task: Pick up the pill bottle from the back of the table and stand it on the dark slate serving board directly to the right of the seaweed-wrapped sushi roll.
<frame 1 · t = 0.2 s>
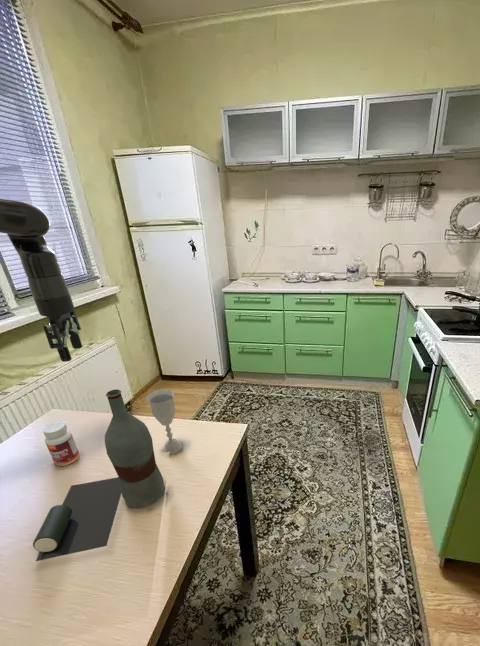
hand: (72, 354, 87), 29 cm above the table, tool pointing down, fingers open, 8 cm apart
slate board: (89, 517, 75), on the table
sushi roll: (57, 534, 69), point 1 cm above the table, touching slate board
chalice: (172, 448, 95), on the table
vodka: (146, 498, 79), on the table
pill bottle: (68, 459, 92), on the table
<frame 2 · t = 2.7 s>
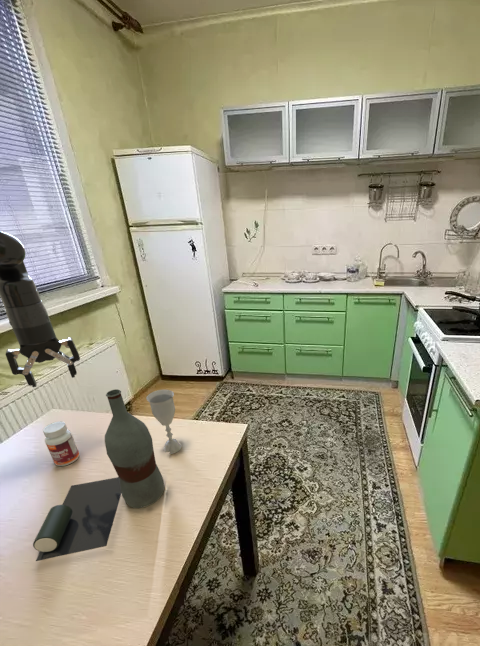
hand: (54, 381, 85), 24 cm above the table, tool pointing down, fingers open, 8 cm apart
nothing on the table moved.
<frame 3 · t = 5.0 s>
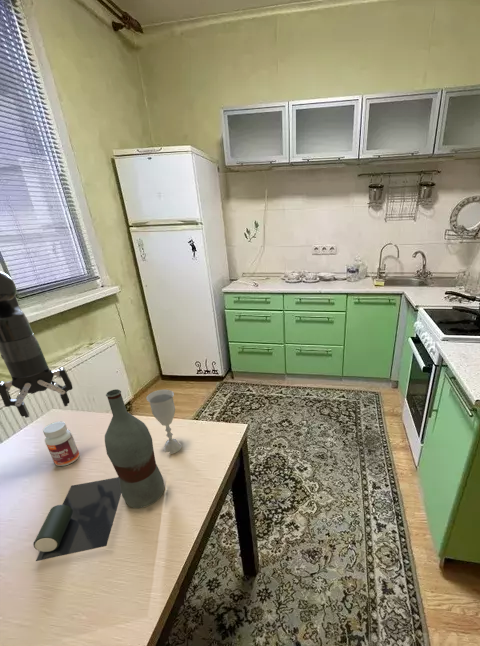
hand: (47, 410, 85), 17 cm above the table, tool pointing down, fingers open, 8 cm apart
nothing on the table moved.
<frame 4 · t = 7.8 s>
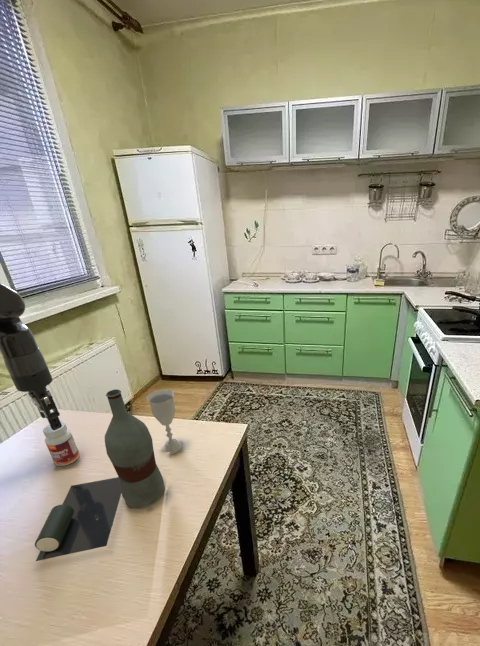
hand: (52, 422, 87), 13 cm above the table, tool pointing down, fingers open, 8 cm apart
sushi roll: (57, 534, 69), point 2 cm above the table, tilted 9°, touching slate board
everything else where it was.
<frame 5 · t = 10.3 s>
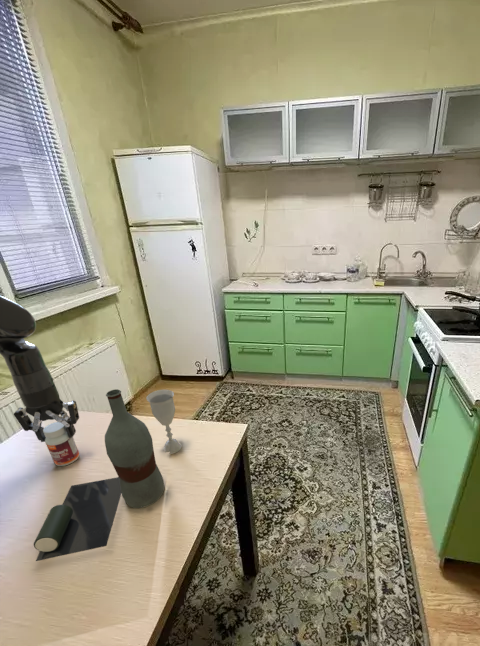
hand: (58, 437, 89), 8 cm above the table, tool pointing down, fingers closed on pill bottle, 6 cm apart
sushi roll: (57, 534, 69), point 2 cm above the table, touching slate board
pill bottle: (68, 459, 92), on the table, touching gripper
everything else where it was.
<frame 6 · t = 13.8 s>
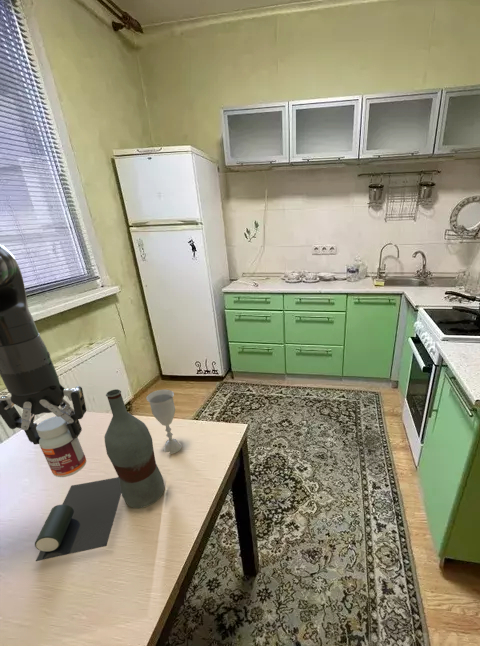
hand: (58, 438, 64), 23 cm above the table, tool pointing down, fingers closed on pill bottle, 6 cm apart
pill bottle: (71, 468, 68), point 15 cm above the table, touching gripper
everything else where it was.
when the fingers open (9 cm above the table, at t = 17.8 s): pill bottle stays where it is, resting on slate board.
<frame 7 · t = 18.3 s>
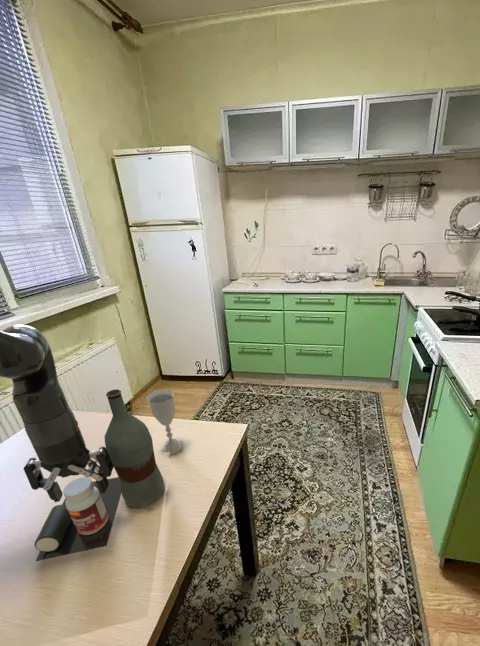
hand: (82, 494, 67), 10 cm above the table, tool pointing down, fingers open, 8 cm apart
pill bottle: (93, 524, 71), point 1 cm above the table, touching slate board
everything else where it was.
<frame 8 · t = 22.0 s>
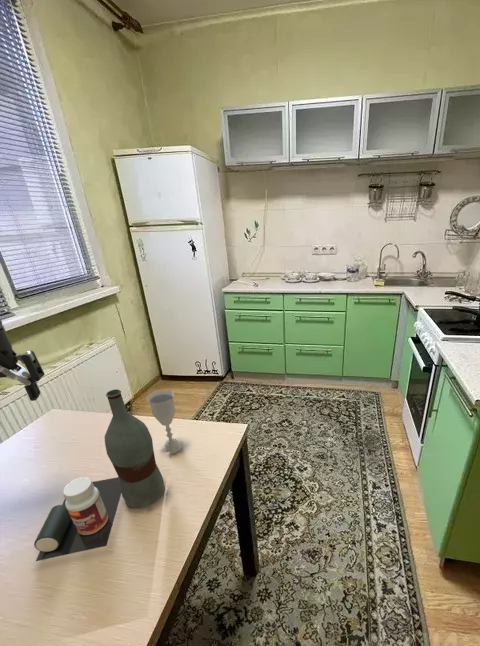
hand: (12, 401, 67), 28 cm above the table, tool pointing down, fingers open, 8 cm apart
nothing on the table moved.
at the end: pill bottle inside the target area on the table beside the sushi roll (1.0 cm from its centre), resting on slate board; pill bottle tilted 0°; sushi roll moved 0.0 cm from its start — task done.
